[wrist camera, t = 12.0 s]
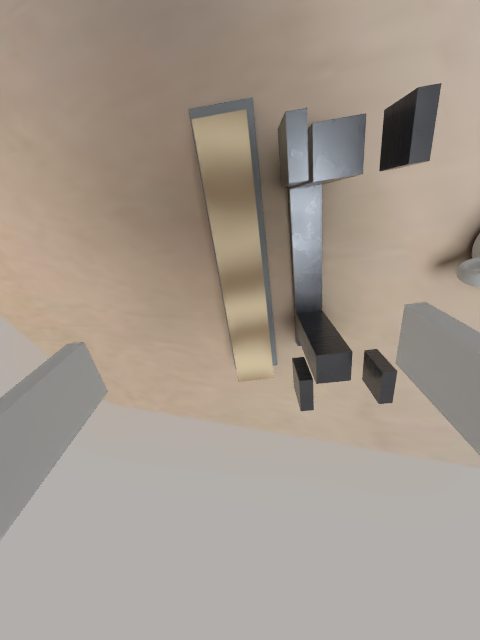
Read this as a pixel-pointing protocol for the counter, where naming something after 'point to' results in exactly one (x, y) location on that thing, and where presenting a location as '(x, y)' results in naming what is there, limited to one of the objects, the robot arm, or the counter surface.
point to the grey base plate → (248, 106)
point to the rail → (236, 237)
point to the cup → (471, 266)
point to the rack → (306, 224)
